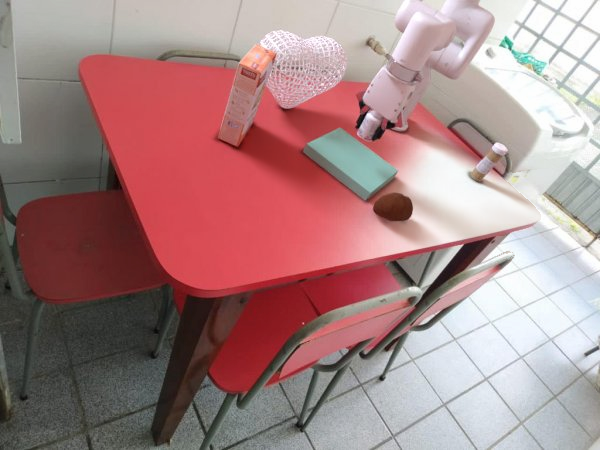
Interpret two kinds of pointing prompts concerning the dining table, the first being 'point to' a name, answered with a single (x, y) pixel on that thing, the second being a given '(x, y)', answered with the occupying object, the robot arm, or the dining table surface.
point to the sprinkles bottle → (488, 161)
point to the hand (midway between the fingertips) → (366, 132)
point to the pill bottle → (370, 125)
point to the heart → (304, 44)
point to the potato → (393, 207)
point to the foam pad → (351, 162)
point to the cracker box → (246, 94)
